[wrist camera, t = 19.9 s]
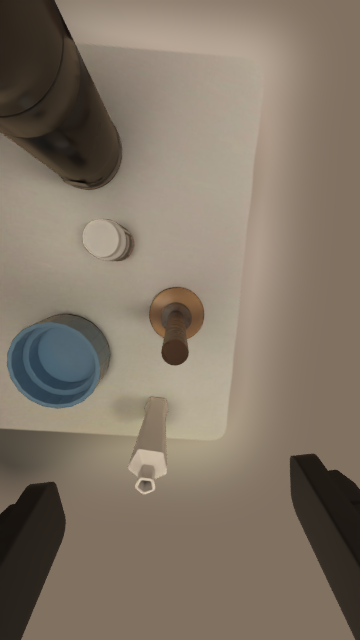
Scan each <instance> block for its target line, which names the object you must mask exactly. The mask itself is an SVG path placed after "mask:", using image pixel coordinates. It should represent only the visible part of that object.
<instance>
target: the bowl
mask: <svg viewBox="0 0 360 640" xmlns="http://www.w3.org/2000/svg"><path fill="white" fill-rule="evenodd" d="M109 358H110V353H109V348H108V343H107V341H106V339H105V338H104V336H103V334H102V332H101V331H100V330H99V329H98V328H97V327H96V326H94V325H93V324H92V323H91V322H89V321H87V320H85V319H83V318H81V317H79V316H73V315H68V314H64V315H56V316H52V317H50V318H47V319H45V320H43V321H40V322H38V323H36V324H34V325H31V326H29V327H27V328H25V329H23V330H22V331H21V332H20V333H19V334H18V335H17V336H16V337H15V338H14V339H13V341H12V343H11V346H10V348H9V350H8V354H7V367H8V371H9V374H10V378H11V380H12V381H13V383H14V384H15V386H16V387H17V389H18V390H19V391H20V392H21V393H22V394H23V395H24V396H26V397H27V398H28V399H29V400H31V401H33V402H35V403H37V404H39V405H42V406H45V407H51V408H66V407H72V406H74V405H76V404H79V403H81V402H83V401H84V400H85V399H86V398H87V397H89V396H90V395H91V394H92V393H93V391H94V390H95V388H96V387H97V385H98V384H99V382H100V381H101V379H102V378H103V376H104V374H105V372H106V370H107V368H108V365H109Z"/></svg>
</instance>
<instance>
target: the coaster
mask: <svg viewBox="0 0 360 640" xmlns="http://www.w3.org/2000/svg"><path fill="white" fill-rule="evenodd" d="M173 302H179V303H182V304H184V305H186V306H187V307H188V309H189V310H190V313H191V324H190V326H189V327H188V329H187V330H186V335H187V339H188V338H190V337H192V336H193V335H195V334H196V333H197V332H198V330H199V329H200V327H201V326H202V323H203V320H204V309H203V306H202V303H201V301H200V300H199V298H198V297H197V296H196V295H195V294H194V293H193V292H191V291H190V290H188V289H185V288H181V287H173V288H169V289H166V290H164V291H162V292H161V293H159V294H158V295H157V296H156V298H155V299H154V300H153V302H152V304H151V307H150V321H151V324H152V326H153V328H154V330H155V331H156V332H157V333H158V334H159V335H160V336H162V337H163V338H164V335H165V328H164V327H163V326H162V323H161V313H162V311H163V309H164V307H165V306H167V305H168V304H170V303H173Z"/></svg>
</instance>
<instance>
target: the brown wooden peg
mask: <svg viewBox="0 0 360 640" xmlns="http://www.w3.org/2000/svg"><path fill="white" fill-rule="evenodd" d="M161 323H162V326H163V327H164V328H165V335H164V340H163V346H162V352H161V353H162V357H163V359H164V360H165V362H167V363H168V364H170V365H180V364H182V363H183V362H185V361H186V359H187V357H188V353H189V351H188V343H187V335H186V330H187V329H188V327H189V326H190V324H191V313H190V310H189V309H188V307H187V306H186V305H184V304H182V303H179V302H173V303H170V304H168V305H167V306H165V307H164V309H163V311H162V313H161Z"/></svg>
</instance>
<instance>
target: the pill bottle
mask: <svg viewBox="0 0 360 640" xmlns="http://www.w3.org/2000/svg"><path fill="white" fill-rule="evenodd" d="M82 239H83V243H84V246H85V248H86V249H87V250H88V252H90V253H91V254H92V255H94V256H95V257H96V258H98V259H101V260H105V261H121V260H124V259H126V258H128V257H129V256H130V255H131V253H132V251H133V248H134V241H133V237H132V235H131V234H130V232H129V231H128V230H127V229H125V228H124V227H122V226H121V225H119V224H118V223H116V222H114V221H112V220H108V219H96V220H93V221H91V222H89V223H88V224H87V225H86V227H85V228H84V231H83V235H82Z"/></svg>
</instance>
